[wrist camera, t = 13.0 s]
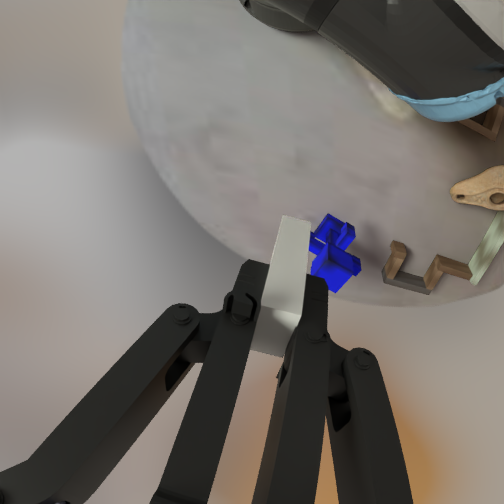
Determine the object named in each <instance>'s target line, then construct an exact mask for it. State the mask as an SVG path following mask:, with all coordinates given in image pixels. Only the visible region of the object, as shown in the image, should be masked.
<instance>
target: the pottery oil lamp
mask: <svg viewBox="0 0 504 504" xmlns="http://www.w3.org/2000/svg"><path fill="white" fill-rule="evenodd" d="M450 194H451V197H452V199H453V200H454V201H456V202H458V203H463V204H473V205H479V206H483V207H486V208H488V209H492V210H504V166H503V165H499V166H494V167H490V168H488V169H486V170H485V171H483V173H480V174H478V175H476V176H474V177H471V178H468V179H466V180H463V181H460V182H458V183H456V184H455V185H454V186H453V187H452V188H451V190H450Z"/></svg>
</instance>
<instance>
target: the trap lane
mask: <svg viewBox="0 0 504 504" xmlns="http://www.w3.org/2000/svg"><path fill="white" fill-rule="evenodd" d="M503 117H504V99H503V98H501V97H499V98H497V99H496V105H494V106H493V107H491V108H490V109H488V111H487V114H486V117H485V120H484V123H483V126H482V125H480V124H478V123H476V122H474V121H473V120H471V119H469V118H468V119H465V120H460V121H457V122H459V123H461V124H463V125H465V126H467V127H469V128H471V129H473V130H474V131H476V132H478V133H480V134H482V135H484V136H485V137H487V138H489V139H491V140H492V141H494V142H495V140H496V137H497V134H498V131H499V129H500V126H501V123H502V120H503ZM503 241H504V210H498V212H497V214H496V216H495V218H494V220H493V222H492V223H491V225H490V227H489V229H488V231H487V233H486V235H485V236H484V238H483V240H482V242H481V244H480V245H479V247H478V249H477V250H476V252H475V254H474V255H473V257H472V259H471V260H470V262H469V264H468V265H467V264H464V263H461V262H458V261H455V260H452V259H449V258H446V257H443V256H440V255H436V257H435V258H434V260H433V262H432V264H431V265H430V267H429V269H428V270H427V272H426V274H425V275H424V277H423V278H422V277H419V276H415V275H412V274H408V273H405V272H401V271H398V270H399V268H400V266H401V264H402V262H403V260H404V259H405V257H406V255H407V253H406V250H405V247H404V244H403V243H400V242H397V241H394V240H393V241H392V243H391V246H390V247H391V251H392V253H391V255H390V257H389V259H388V261H387V263H386V265H385V267H384V269H383V271H382V276H383V281H384V283H385V284H389V285H393V286H397V287H400V288H404V289H408V290H412V291H415V292H419V293H423V294H426V295H429V294H430V293H431V291H432V289H433V288H434V286H435V285H436V283H437V282H438V280H439V279H440V277H441V275H442V274H443V272H445V273H448V274H451V275H454V276H457V277H461V278H464V279H467V280H470V282H471V284H473V285H477V283H478V282H479V280H480V279H481V277H482V276H483V274H484V273H485V271H486V270H487V268H488V266H489V265H490V263H491V262H492V260H493V258H494V257H495V255H496V253H497V252H498V250H499V248H500V247H501V245H502V243H503Z"/></svg>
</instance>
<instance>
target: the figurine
mask: <svg viewBox="0 0 504 504" xmlns="http://www.w3.org/2000/svg"><path fill="white" fill-rule="evenodd" d="M315 237H316V238H318V239H320V240H322V241H323V242H325V243H326V245H325V244H324V243H322V242H320V241H318V240H316V239H315ZM355 237H356V236H355V229H354V226H352V225H351V224H349V223H347V222H346V223H343V222H342V221H340V220H338V219H337V218H335V217H333V216H332V215H330V214H327V215H326V217H325V218H324V219H323V221H322V222H321V224H320V225H319V226H318V228H317V229H316V230H315V232H314V233H313V232H311V231H310V240H309V251H311V252H312V253H314V254H316V255H317V256H316V258H315V259H314V260H313V261H312V267H311V275H314V276H317V277H321V278H324V279H325V281H326V283H327V285H328V289H329V290H331V291H333V292H334V293H336V292H337V291H338V290H339V289H340V288H341V287H342V286H343V285H344V284H345V283H346V282H347V281H348V279H349V278H350V277H351V276H352V275H354V276H357V275H358V273H359V272H360V271H361V263H360V259H359V258H357V257H355V256H354V255H353V256H352V255H351V254H349V253H347V252H345V249H346V248H347V247H348V246H349V244H350V243H351V242H352V241H353V240H354V238H355Z"/></svg>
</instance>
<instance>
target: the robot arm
mask: <svg viewBox="0 0 504 504" xmlns="http://www.w3.org/2000/svg"><path fill="white" fill-rule="evenodd" d="M239 1H240V2H241V4H242V5H243V7H244V8H245V9H246V10H247V11H248V12H249V13H250V14H251V15H252V16H253V17H255V18H256V19H258V20H259V21H261V22H262V23H264V24H266V25H268V26H270V27H273V28H276V29H279V30H283V31H290V32H307V31H313V30H315V31H317V32H318V33H319V34H320V35H322V36H323V37H325V38H326V39H328V40H329V41H330V42H332V43H333V44H335V45H336V46H337V47H339V48H340V49H341V50H343V51H344V52H346V53H347V54H348V55H349V56H351V57H352V58H353V59H355V60H356V61H357V62H359V63H360V64H361V65H362V66H364V67H365V68H366V69H367V70H368V71H370V72H371V73H372V74H373V75H374V76H376V77H377V78H378V79H379V80H380V81H381V82H383V83H384V84H385V85H386V86H387V87H388V89H389V90H390V91H391V92H392V93H393V94H394V95H396V96H397V97H398V98H400V99H402V100H404V101H406V102H407V103H408V104H409V105H410V106H411V107H412V108H414V109H415V110H416V111H417V112H418V113H419V114H421V115H422V116H424V117H426V118H428V119H431V120H434V121H439V122H454V121H460V120H465V119H468V118H471V117H474V116H476V115H479V114H481V113H483V112H485V111H487V110H488V109H490V108H491V107H493V106H494V105H496V99H497V98H499V97H504V0H239ZM310 229H311V222H308V221H305V220H301V219H297V218H294V217H290V216H286V215H283V217H282V220H281V224H280V228H279V232H278V236H277V239H276V243H275V247H274V251H273V254H272V258H271V262H270V265H269V264H265V263H261V262H258V261H254V260H250V259H249V260H247V261H246V262H245V263H244V264H242V266H241V269H240V271H239V274H238V277H237V280H236V282H235V285H234V288H233V290H232V291H231V292H229V293H228V294H227V295H226V296H225V298H224V304H223V310H221V311H219V312H216V313H199V312H198V311H197V309H195V308H194V307H193V306H191V305H188V304H180V303H178V304H175V305H172V306H170V307H169V308H167V309H166V310H165V312H164V313H163V314H162V315H161V316H160V317H159V318H158V319H157V320H156V321H155V322H154V323H153V324H152V325H151V326H150V327H149V328H148V329H147V330H146V332H144V333H143V335H142V336H141V337H140V338H139V339H138V340H137V341H136V342H135V343H134V344H133V345H132V346H131V347H130V348H129V349H128V350H127V351H126V353H125V354H124V355H123V356H122V357H121V358H120V359H119V360H118V361H117V362H116V363H115V364H114V365H113V366H112V367H111V369H110V370H109V371H108V372H107V373H106V374H105V375H104V376H103V377H102V378H101V379H100V380H99V381H98V382H97V384H96V385H95V386H94V387H93V388H92V389H91V390H90V391H89V392H88V393H87V394H86V396H85V397H84V398H83V399H82V400H81V401H80V402H79V403H78V404H77V405H76V406H75V407H74V409H73V410H72V411H71V412H70V413H69V414H68V415H67V416H66V417H65V419H64V420H63V421H62V422H61V423H60V424H59V425H58V426H57V427H56V428H55V430H54V431H53V432H52V433H51V434H50V435H49V436H48V437H47V438H46V440H45V441H44V442H43V443H42V444H41V445H40V446H39V448H38V449H37V450H36V451H35V452H34V453H33V454H32V455H31V457H30V458H29V459H28V460H26V461H24V462H22V463H20V464H18V465H16V466H13V467H11V468H9V469H6V470H4V471H2V472H0V504H83V503H84V502H86V500H88V499H89V498H90V496H91V495H92V494H93V493H94V492H95V491H96V490H97V489H98V487H99V486H100V485H101V484H102V482H103V481H104V480H105V479H106V477H107V476H108V475H109V474H110V472H111V471H112V470H113V468H114V467H115V466H116V465H117V464H118V462H119V461H120V460H121V459H122V457H123V456H124V455H125V453H126V452H127V451H128V450H129V449H130V447H131V446H132V445H133V443H134V442H135V441H136V440H137V438H138V437H139V436H140V434H141V433H142V432H143V431H144V429H145V428H146V427H147V426H148V424H149V423H150V422H151V420H152V419H153V418H154V417H155V415H156V414H157V413H158V411H159V410H160V409H161V407H162V406H163V405H164V404H165V402H166V401H167V400H168V398H169V397H170V396H171V394H172V393H173V392H174V390H175V389H176V388H177V387H178V385H179V384H180V383H181V381H182V380H183V379H184V377H185V376H186V375H187V373H188V372H189V371H190V370H191V368H192V367H193V366H194V364H195V363H203V366H202V369H201V371H200V374H199V377H198V380H197V382H196V385H195V388H194V391H193V393H192V396H191V399H190V401H189V404H188V407H187V409H186V412H185V415H184V418H183V420H182V423H181V426H180V429H179V431H178V434H177V437H176V440H175V442H174V445H173V448H172V451H171V454H170V456H169V459H168V462H167V465H166V467H165V470H164V473H163V476H162V478H161V482H160V484H159V487H158V489H157V490H156V492H155V493H154V495H153V497H152V499H151V501H150V504H207V502H208V498H209V495H210V492H211V488H212V485H213V481H214V478H215V474H216V471H217V467H218V464H219V460H220V457H221V453H222V449H223V446H224V443H225V439H226V435H227V432H228V428H229V425H230V421H231V417H232V413H233V410H234V407H235V403H236V399H237V395H238V392H239V388H240V385H241V381H242V377H243V373H244V370H245V366H246V362H247V358H248V354H249V351H250V350H254V351H258V352H262V353H266V354H270V355H274V356H278V357H282V358H283V356H284V354H285V356H284V362H283V364H282V366H281V368H280V370H279V372H278V374H277V377H276V378H278V384H277V389H276V394H275V399H274V404H273V409H272V414H271V419H270V424H269V429H268V434H267V438H266V443H265V448H264V452H263V457H262V461H261V465H260V470H259V474H258V478H257V483H256V487H255V491H254V495H253V500H252V504H314V502H315V496H316V489H317V483H318V475H319V468H320V461H321V452H322V444H323V435H324V425H325V416H326V419H327V425H328V431H329V437H330V444H331V450H332V457H333V464H334V471H335V478H336V485H337V493H338V500H339V504H413V499H412V495H411V489H410V484H409V479H408V474H407V470H406V465H405V461H404V457H403V452H402V448H401V444H400V440H399V435H398V432H397V428H396V424H395V420H394V416H393V413H392V409H391V405H390V402H389V398H388V395H387V391H386V388H385V384H384V381H383V377H382V374H381V371H380V367H379V364H378V361H377V359H376V357H375V355H373V354H372V353H371V352H370V351H369V350H366V349H364V348H353V349H352V350H351V351H348V350H346V349H344V348H342V347H340V346H339V345H337V344H336V343H334V342H333V341H332V340H331V338H330V335H329V333H328V331H327V316H328V285H327V283H326V281H325V279H324V278H321V277H317V276H314V275H310V274H306V271H307V261H308V251H309V240H310Z"/></svg>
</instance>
